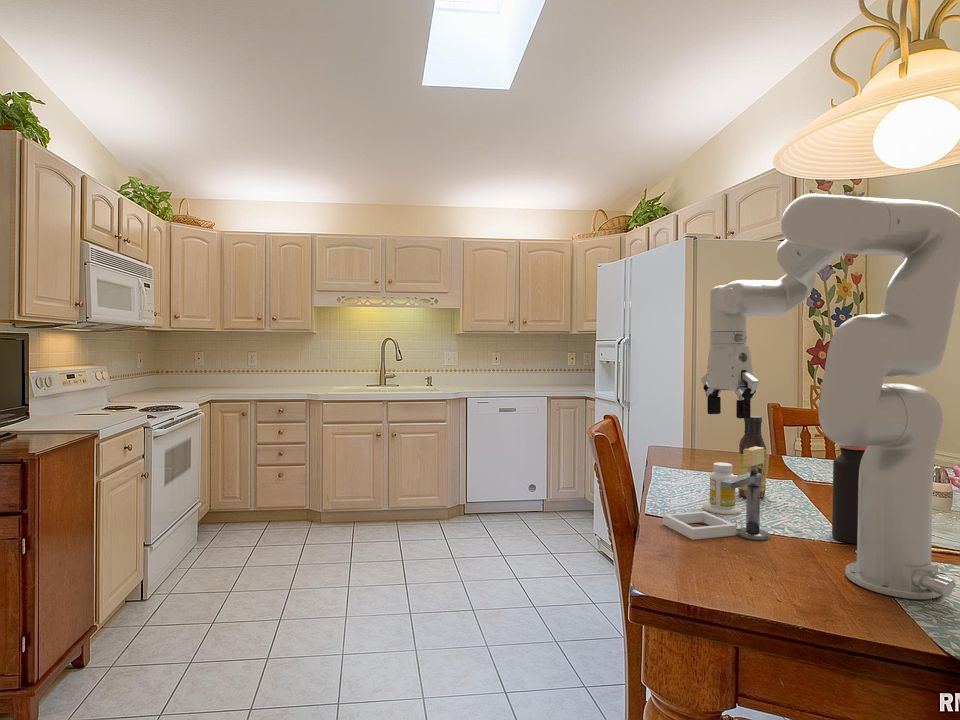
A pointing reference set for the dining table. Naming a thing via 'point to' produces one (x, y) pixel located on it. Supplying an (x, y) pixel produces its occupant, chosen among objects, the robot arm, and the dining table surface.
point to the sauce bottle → (748, 441)
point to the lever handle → (752, 459)
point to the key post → (753, 517)
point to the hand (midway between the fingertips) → (728, 416)
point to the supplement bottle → (717, 494)
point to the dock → (714, 530)
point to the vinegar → (846, 494)
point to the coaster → (721, 511)
